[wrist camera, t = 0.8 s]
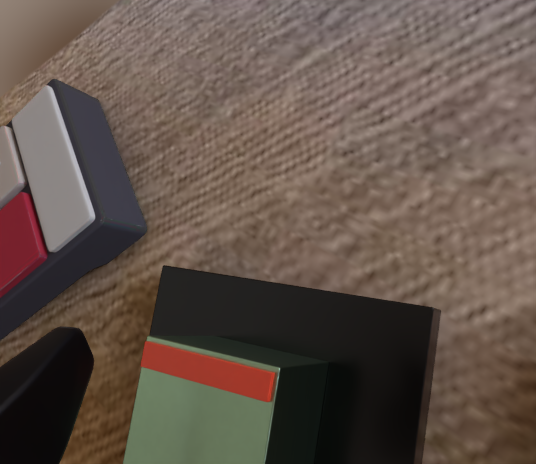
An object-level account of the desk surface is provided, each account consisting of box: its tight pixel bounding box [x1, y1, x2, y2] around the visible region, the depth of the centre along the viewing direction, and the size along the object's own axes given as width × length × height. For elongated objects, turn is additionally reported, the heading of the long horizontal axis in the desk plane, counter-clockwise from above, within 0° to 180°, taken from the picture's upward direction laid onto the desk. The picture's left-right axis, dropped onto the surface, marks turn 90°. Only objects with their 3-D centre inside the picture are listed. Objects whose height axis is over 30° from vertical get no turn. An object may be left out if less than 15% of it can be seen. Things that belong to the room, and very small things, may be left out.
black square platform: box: [149, 265, 441, 464], centre depth 24 cm, size 16×14×2 cm
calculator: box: [0, 79, 147, 340], centre depth 33 cm, size 11×4×15 cm
